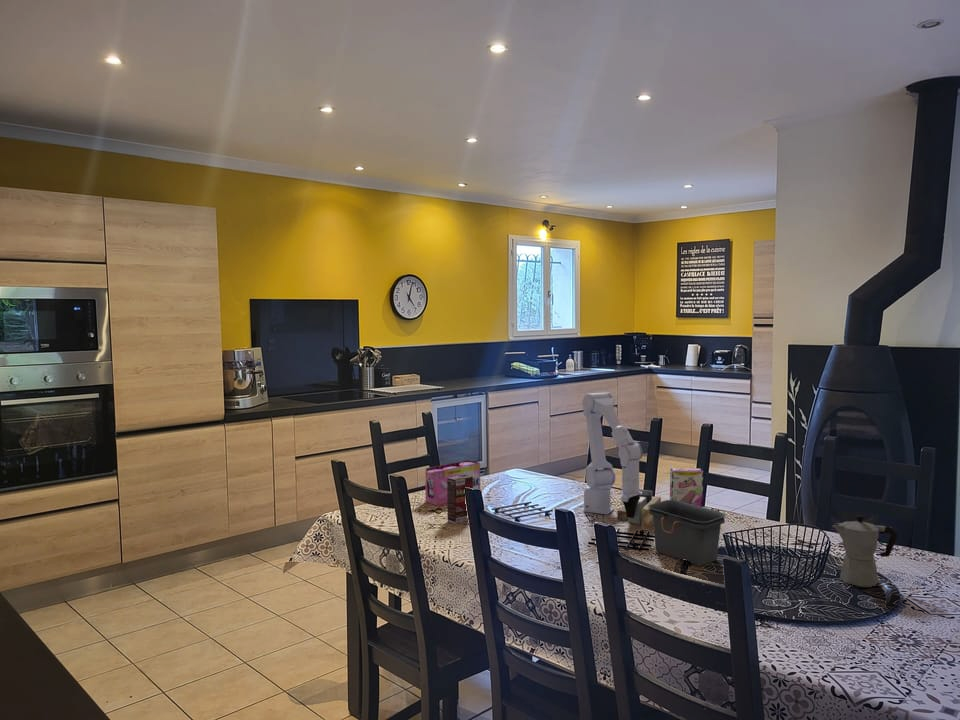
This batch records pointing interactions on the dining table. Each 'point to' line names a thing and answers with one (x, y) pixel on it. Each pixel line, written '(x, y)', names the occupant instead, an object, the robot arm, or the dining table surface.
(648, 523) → the shelf wall
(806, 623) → the dining table surface
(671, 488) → the candy bar box
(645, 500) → the boxed book
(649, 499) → the bookend
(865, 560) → the coffeepot
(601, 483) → the robot arm
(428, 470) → the gum box
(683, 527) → the storage bin
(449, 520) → the supplement box
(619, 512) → the walnut block
